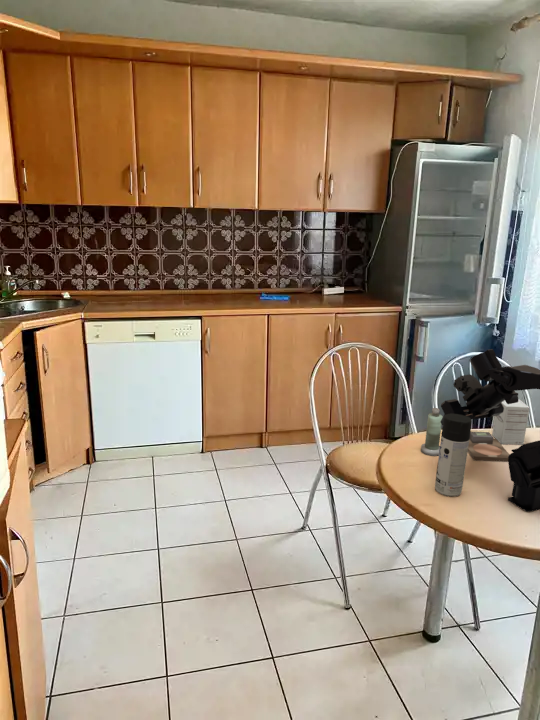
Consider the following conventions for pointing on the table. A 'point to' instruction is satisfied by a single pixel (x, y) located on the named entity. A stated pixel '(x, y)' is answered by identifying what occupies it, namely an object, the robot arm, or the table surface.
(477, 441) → the digital kitchen scale
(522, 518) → the table surface
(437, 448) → the ring stacking peg
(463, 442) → the spray can
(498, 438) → the supplement box
